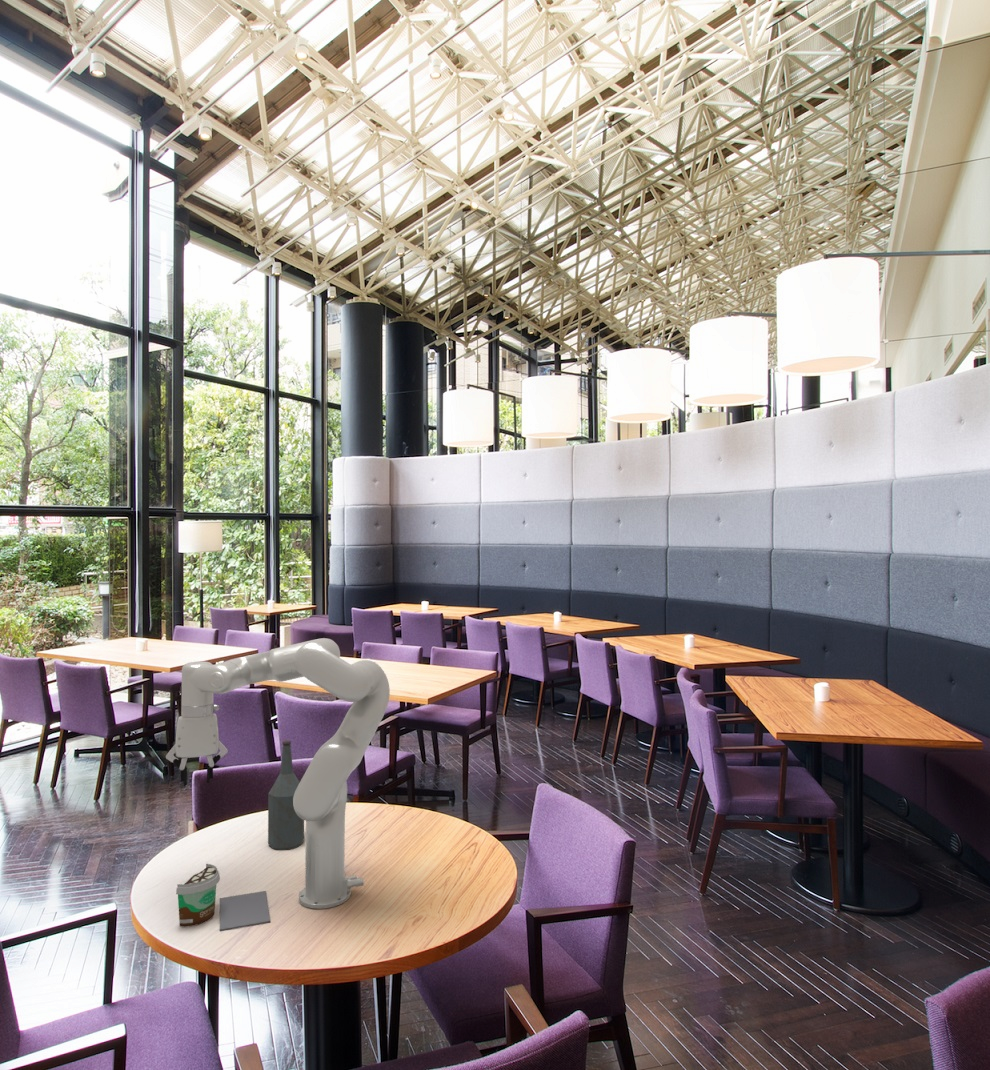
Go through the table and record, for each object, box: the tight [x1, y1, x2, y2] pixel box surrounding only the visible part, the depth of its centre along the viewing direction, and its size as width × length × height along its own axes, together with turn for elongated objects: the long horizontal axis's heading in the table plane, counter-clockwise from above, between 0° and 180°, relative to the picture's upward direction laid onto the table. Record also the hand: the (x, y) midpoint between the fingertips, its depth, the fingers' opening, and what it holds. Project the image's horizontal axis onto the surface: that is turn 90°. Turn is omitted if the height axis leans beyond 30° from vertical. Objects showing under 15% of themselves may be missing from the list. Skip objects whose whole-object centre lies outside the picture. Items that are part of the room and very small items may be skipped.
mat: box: [219, 890, 271, 932], centre depth 175 cm, size 11×16×1 cm
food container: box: [175, 863, 221, 928], centre depth 172 cm, size 12×6×10 cm, turn 168°
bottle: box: [267, 740, 305, 851], centre depth 216 cm, size 10×10×30 cm
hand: (196, 782), depth 186 cm, fingers open, 4 cm apart
